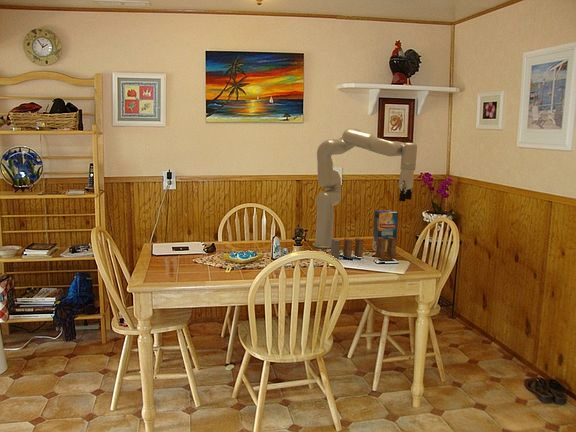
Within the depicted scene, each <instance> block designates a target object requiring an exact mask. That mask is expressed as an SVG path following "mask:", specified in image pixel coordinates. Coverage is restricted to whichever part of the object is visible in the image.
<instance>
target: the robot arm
mask: <svg viewBox="0 0 576 432" xmlns="http://www.w3.org/2000/svg"><path fill="white" fill-rule="evenodd" d="M354 147H357V148H361V149H363V150H367V151H370V152H372V153H376V154H378V155H382V156H387V157H399V156H400V157H401V158H400V168H399V170H400V172H399V173H400V174H399V178H398V180H399V181H398V186H397V188H398V189H399V196H398V197H399V198H398V201H399V202H404V203H405V202H406V200H412V195H413V187H414V181H415V180H414V179H415V178H414V176H415V175H414V174H415V171H416V167H417V166H416V165H417V164H416V163H417V153H418V144H417V143H416V142H402V141H393V140H392V141H391V140H387V139H383V138H380V137H377V136H375V135H374V134H373V133H368V132H365V131H362V130H360V129H358V128H348V129H345V130H344V131H343V133H342V135H341V137H339V138H331V139H326V140H324V141H322V142H321V143H320V144H319V145H318V147H317V151H316V160H317V165H316V166H317V183H318V185H319V187H321V188H323V189H324V190H322V191H320V192H319V193H318V194H317V195H316V198H315V205H316V221H315V223H316V225H315V237H314V239H315V241H313V242H312V246H313V247H315V248H319V249H331V244H332V239H333V237H334V236H333V235H334V220H335V218H334V217H335V214H334V213H335V212H334V206H337V205H338V204H340V202H341V200H342V182H341V181H342V179H341V176H340V173H339V172H338V171H337V170H334V167H333V166H334V163H333V159H332V156H334V155H335V156H336V155H342V154H345V153H347V152H348V151H350V150H351V149H353V148H354Z"/></svg>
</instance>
